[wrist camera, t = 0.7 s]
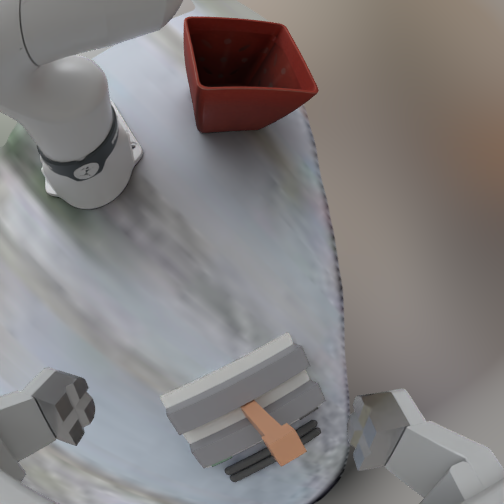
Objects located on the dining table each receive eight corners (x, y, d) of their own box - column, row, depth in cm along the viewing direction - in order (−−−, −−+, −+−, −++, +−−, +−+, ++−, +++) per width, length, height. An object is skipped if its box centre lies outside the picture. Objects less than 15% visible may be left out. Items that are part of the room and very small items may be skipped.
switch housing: (159, 395, 40) (159, 404, 36) (286, 332, 48) (296, 334, 44) (206, 465, 39) (210, 476, 36) (318, 403, 48) (329, 409, 44)
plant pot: (257, 75, 56) (285, 23, 40) (280, 142, 54) (321, 93, 39) (173, 76, 50) (183, 16, 34) (184, 150, 48) (198, 89, 32)
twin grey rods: (222, 468, 40) (224, 472, 39) (313, 417, 47) (317, 420, 45) (231, 480, 40) (233, 484, 38) (319, 430, 47) (323, 433, 45)
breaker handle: (233, 402, 42) (268, 445, 27) (252, 392, 43) (295, 429, 28) (243, 420, 42) (281, 466, 26) (261, 410, 43) (306, 451, 28)
